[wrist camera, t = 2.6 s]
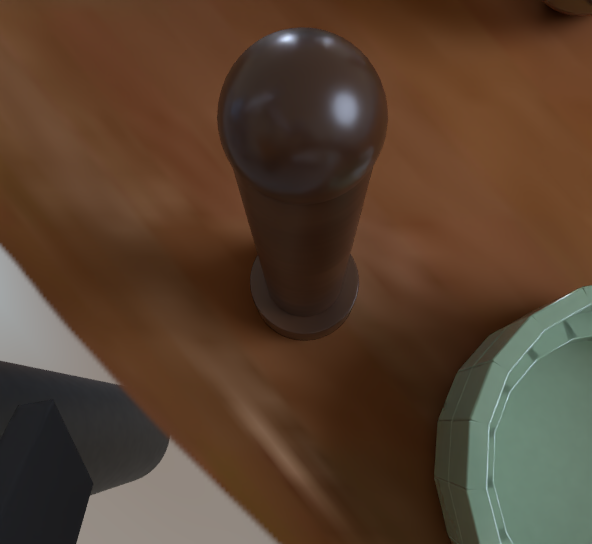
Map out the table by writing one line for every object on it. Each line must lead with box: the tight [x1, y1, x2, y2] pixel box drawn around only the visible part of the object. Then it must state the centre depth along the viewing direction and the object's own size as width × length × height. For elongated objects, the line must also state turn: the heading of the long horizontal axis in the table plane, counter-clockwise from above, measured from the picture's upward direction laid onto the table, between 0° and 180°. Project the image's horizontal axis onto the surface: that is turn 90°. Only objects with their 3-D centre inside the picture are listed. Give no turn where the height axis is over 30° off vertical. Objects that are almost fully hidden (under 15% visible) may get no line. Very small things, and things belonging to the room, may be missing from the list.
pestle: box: [217, 28, 388, 340], centre depth 18 cm, size 5×5×18 cm
